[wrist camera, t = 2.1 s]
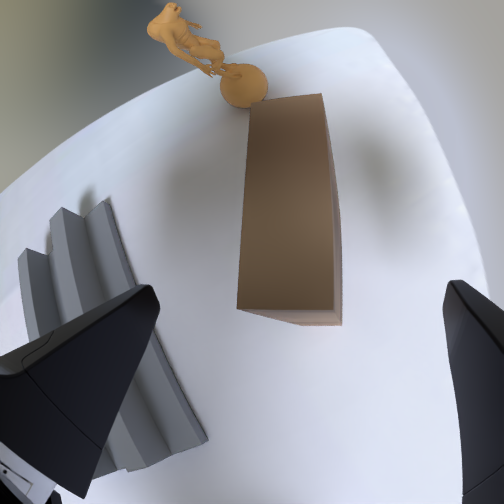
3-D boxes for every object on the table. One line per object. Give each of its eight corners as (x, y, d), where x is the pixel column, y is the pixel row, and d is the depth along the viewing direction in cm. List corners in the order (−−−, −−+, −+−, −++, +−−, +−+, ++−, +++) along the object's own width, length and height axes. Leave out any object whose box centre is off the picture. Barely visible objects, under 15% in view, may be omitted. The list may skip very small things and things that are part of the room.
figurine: (287, 123, 22) (234, -5, 11) (218, 151, 24) (134, 44, 13) (259, 68, 25) (212, -31, 14) (203, 92, 26) (141, 3, 15)
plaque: (342, 325, 17) (333, 309, 7) (301, 325, 18) (236, 309, 8) (340, 215, 19) (321, 93, 9) (302, 217, 20) (250, 102, 10)
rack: (208, 440, 17) (178, 458, 14) (95, 474, 19) (65, 483, 15) (109, 204, 26) (80, 187, 22) (34, 280, 28) (7, 272, 24)
